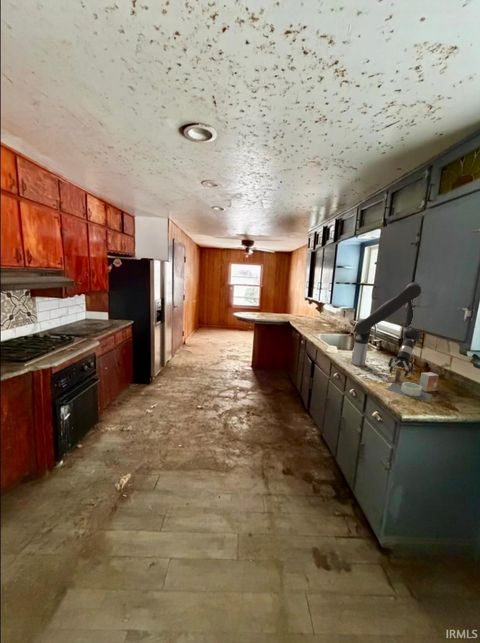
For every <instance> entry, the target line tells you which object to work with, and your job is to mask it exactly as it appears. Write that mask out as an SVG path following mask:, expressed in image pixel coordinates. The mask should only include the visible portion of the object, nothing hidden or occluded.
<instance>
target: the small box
mask: <svg viewBox="0 0 480 643" xmlns="http://www.w3.org/2000/svg"><path fill="white" fill-rule="evenodd" d="M439 376H440V375H439V374H438V373H435V372H433V371H429V372H421V373H420V379H419V384H418V385H420V386H421V387H422V391H423V392H435V391H437V386H438V382H439V378H440V377H439Z"/></svg>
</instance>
